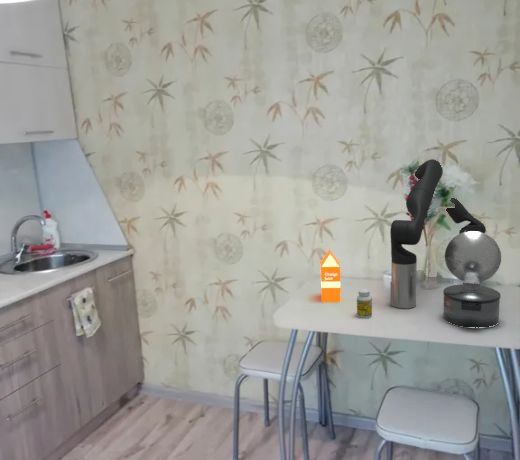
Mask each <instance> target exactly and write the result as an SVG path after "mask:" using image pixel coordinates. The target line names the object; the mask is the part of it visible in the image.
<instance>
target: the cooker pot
mask: <svg viewBox="0 0 520 460" xmlns="http://www.w3.org/2000/svg"><path fill="white" fill-rule="evenodd" d="M442 292H443V309H442V310H443V312H442V313H443V315H442V318H443V317H444V318H443V320H444V319H445V320H446V321H448V322H450V323H452V324H451V325H453V324H455V325H458V326H457V327H459V326H463V327H462V328H464V327H475V328H476V327H478V328H479V327H489V326H493V325H496V324H497V323H498V322H500V321H499V320H500V302H501V297H502V296H501V293H500V291H499V290H496V289H494V288H492V287H488V286H483V285H481V283H471V282H462V284H454V285H450V286H447V287H445V288H444V289H443V291H442ZM445 320H444V321H445ZM446 321H445V322H446ZM448 322H447V323H448ZM450 323H449V324H450ZM498 324H499V323H498ZM455 325H454V326H455ZM496 326H497V325H496Z"/></svg>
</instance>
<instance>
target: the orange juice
mask: <svg viewBox="0 0 520 460" xmlns="http://www.w3.org/2000/svg"><path fill="white" fill-rule="evenodd" d="M320 287H321V288H320V292H321V293H320V294H321V296H320V297H321V303H341V302H342V301H341V299H342V297H341V264H340V261H339V260H338V259H337V257H336V256H335V255H334V254H333V252H332V251H331V249H330V248H329V249H328V251H327V252H326V253H325V255H324V256H323V258H322V259H321V260H320Z"/></svg>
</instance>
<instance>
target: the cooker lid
mask: <svg viewBox="0 0 520 460" xmlns="http://www.w3.org/2000/svg"><path fill="white" fill-rule="evenodd" d="M465 226H466V232H463V233H460V234H459V233H458V234H457V235H455V236H454V237H453V238H452V239H451V240H450V241H449V242H448V244H447V246H446V249H445V252H444V260H445V265H446V268H447V269H448V271H449V273H451V275H453V276H454V277H455V278H456V279H458V280H460V281H463V282H464V283H474V284H478V283H482V282H485V281H487V280H489V279H491V278H492V277H493V276H494V275H495V274H496V273H497V271H498V270H499V269H500V266H501V263H502V251H501V249H500V247H499V245H498V243H497V241H496V240H495V239H494V238H493V237H491V235H488V234H487V233H486V232H485V233H482V232H481V226H470V225H468V224H466V225H465Z"/></svg>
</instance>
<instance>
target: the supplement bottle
mask: <svg viewBox="0 0 520 460" xmlns="http://www.w3.org/2000/svg"><path fill="white" fill-rule="evenodd" d="M357 293H358V295H357V297H356V316H357V317H359V318H361V319H369V318H371V317H372V315H373V307H372V306H373V299H372V296H371V294H370V293H371V292H370V290H369V289H364V288H363V289H359V290H358V292H357Z"/></svg>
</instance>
